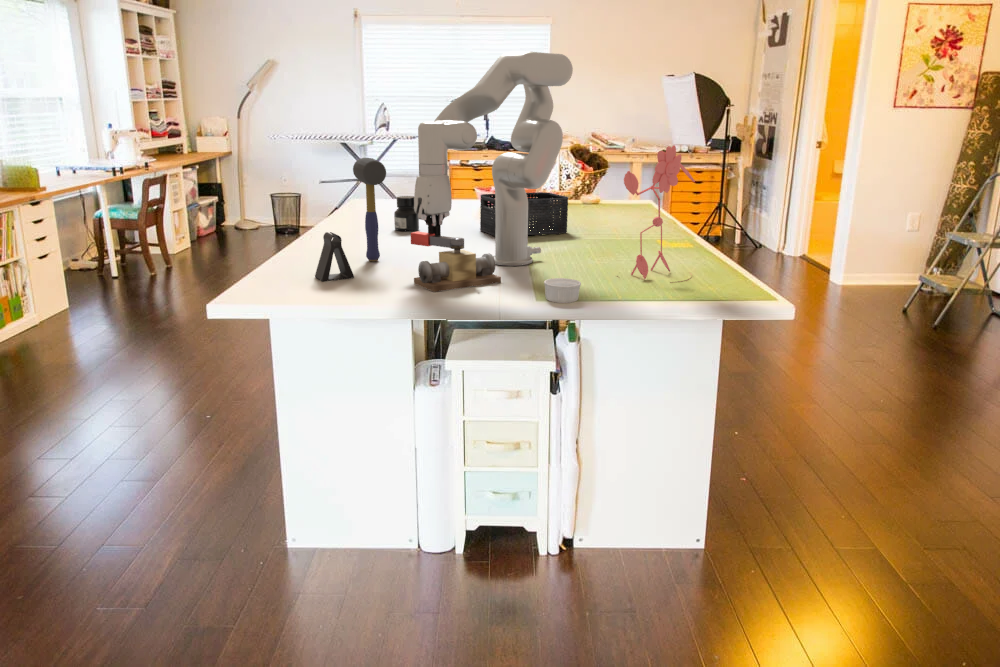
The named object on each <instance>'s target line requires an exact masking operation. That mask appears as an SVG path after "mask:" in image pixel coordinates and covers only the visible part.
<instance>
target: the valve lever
mask: <svg viewBox="0 0 1000 667" xmlns="http://www.w3.org/2000/svg"><path fill="white" fill-rule="evenodd" d="M410 244H411V245H414V246H416V245H417V246H422V247H423V246H424V247H431V246H433V247H442V248H449V249H452V250H454V249H460V250H465V238H463V237H454V236H453V237H452V236H447V235H446V236H444V235H441V236H438V235H435V234H433V233H428V232H423V231H412V232H410Z"/></svg>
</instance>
